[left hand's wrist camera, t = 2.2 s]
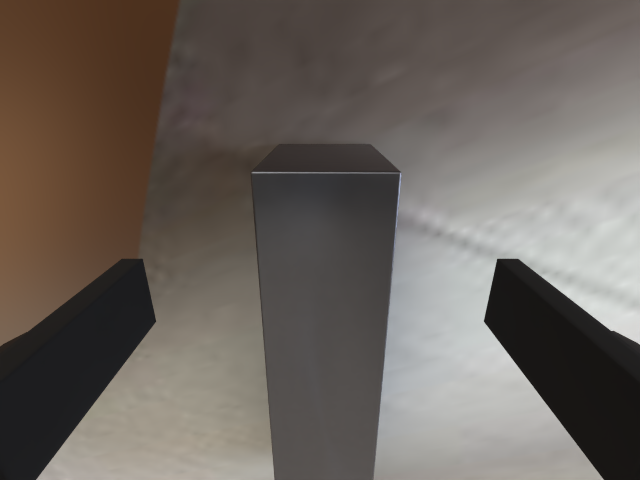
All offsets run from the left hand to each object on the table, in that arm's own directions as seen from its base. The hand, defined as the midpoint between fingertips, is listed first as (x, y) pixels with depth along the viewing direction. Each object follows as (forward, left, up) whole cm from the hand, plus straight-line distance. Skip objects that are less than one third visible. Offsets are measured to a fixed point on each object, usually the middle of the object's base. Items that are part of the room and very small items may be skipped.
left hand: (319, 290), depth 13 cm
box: (+9, +3, -10) cm, 14 cm away
